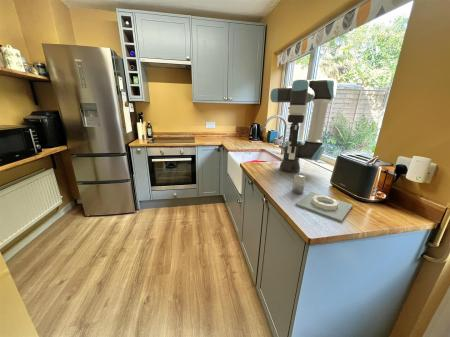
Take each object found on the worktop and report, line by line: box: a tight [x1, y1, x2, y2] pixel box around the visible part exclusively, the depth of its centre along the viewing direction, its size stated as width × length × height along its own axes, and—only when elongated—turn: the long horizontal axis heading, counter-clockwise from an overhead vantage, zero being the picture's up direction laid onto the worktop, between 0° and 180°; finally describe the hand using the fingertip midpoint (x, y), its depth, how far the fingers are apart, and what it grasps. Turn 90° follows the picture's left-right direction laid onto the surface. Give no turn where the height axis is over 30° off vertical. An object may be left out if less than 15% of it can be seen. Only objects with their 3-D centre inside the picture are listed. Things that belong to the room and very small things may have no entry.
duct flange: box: [295, 191, 354, 223], centre depth 92 cm, size 20×20×3 cm
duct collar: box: [291, 173, 307, 195], centre depth 105 cm, size 6×6×10 cm
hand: (290, 156), depth 100 cm, fingers open, 13 cm apart
